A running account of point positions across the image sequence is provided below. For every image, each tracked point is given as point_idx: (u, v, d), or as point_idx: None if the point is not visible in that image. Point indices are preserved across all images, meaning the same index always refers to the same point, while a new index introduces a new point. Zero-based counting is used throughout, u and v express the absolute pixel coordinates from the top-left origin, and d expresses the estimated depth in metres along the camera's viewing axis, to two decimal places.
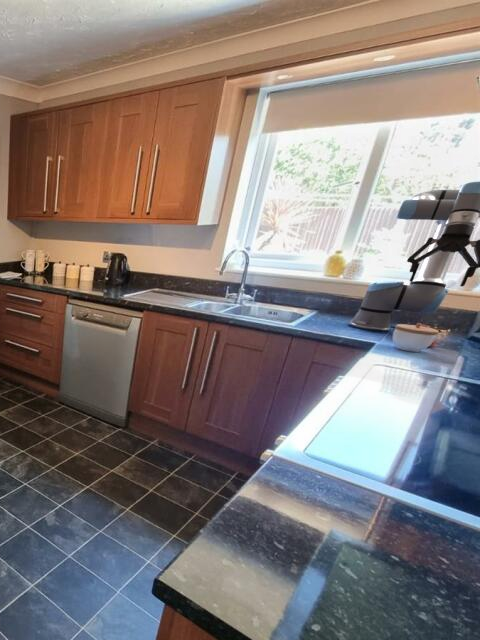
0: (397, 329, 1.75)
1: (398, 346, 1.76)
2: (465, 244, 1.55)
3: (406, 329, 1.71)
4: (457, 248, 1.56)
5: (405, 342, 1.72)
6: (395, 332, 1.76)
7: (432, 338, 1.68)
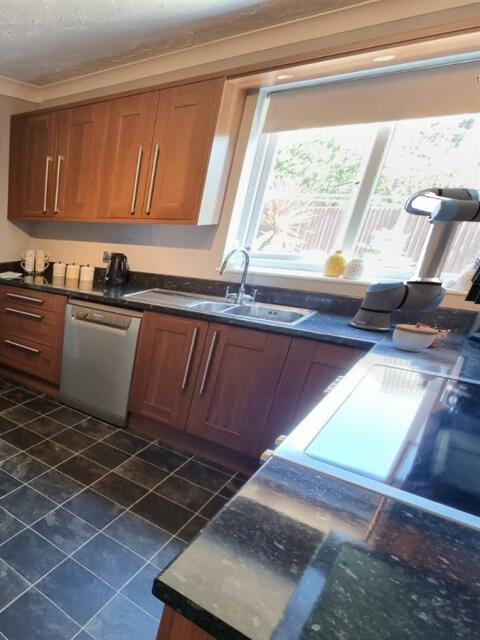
0: (397, 329, 1.75)
1: (398, 346, 1.76)
2: None
3: (406, 329, 1.71)
4: None
5: (405, 342, 1.72)
6: (395, 332, 1.76)
7: (432, 338, 1.68)
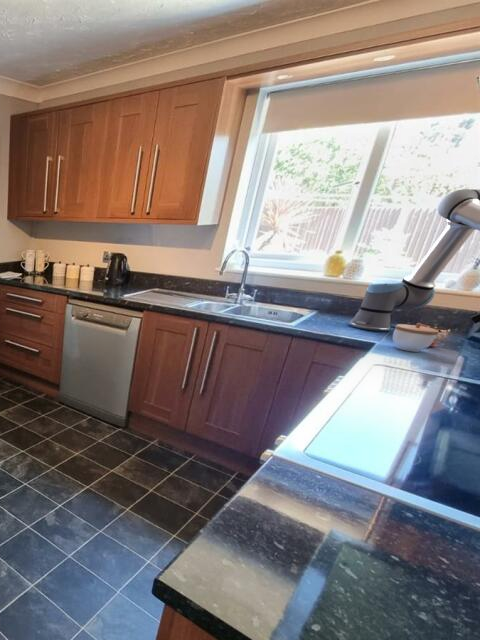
0: (397, 329, 1.75)
1: (398, 346, 1.76)
2: None
3: (406, 329, 1.71)
4: None
5: (405, 342, 1.72)
6: (395, 332, 1.76)
7: (432, 338, 1.68)
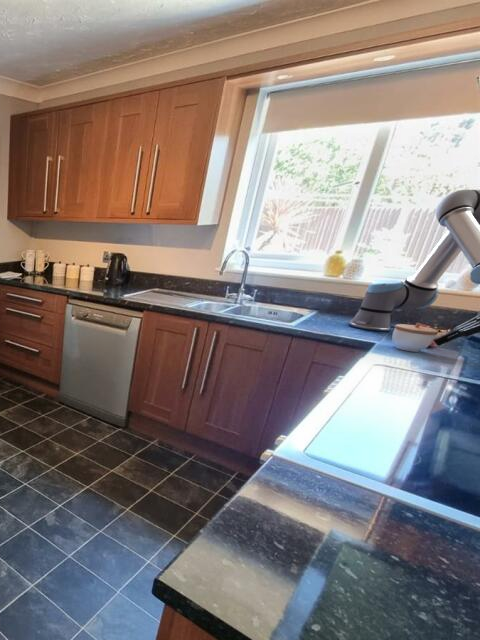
0: (396, 329, 1.75)
1: (397, 346, 1.76)
2: None
3: (405, 329, 1.71)
4: None
5: (404, 341, 1.72)
6: (394, 332, 1.76)
7: (431, 338, 1.68)
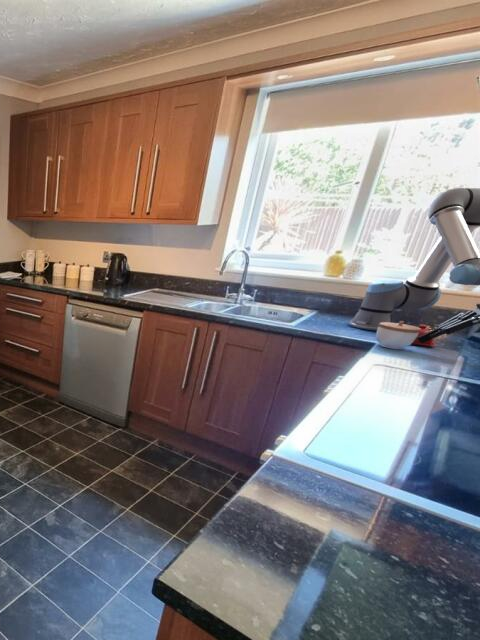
0: (380, 327, 1.77)
1: (381, 344, 1.78)
2: None
3: (388, 327, 1.74)
4: None
5: (386, 339, 1.75)
6: (378, 330, 1.78)
7: (413, 336, 1.70)
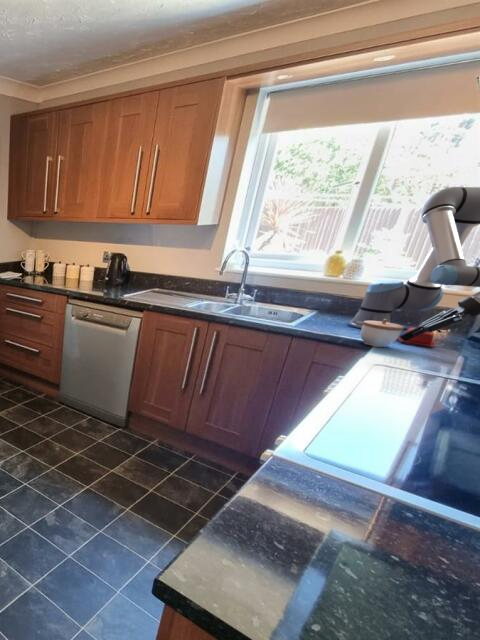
0: (364, 325, 1.80)
1: (365, 341, 1.81)
2: None
3: (371, 325, 1.76)
4: None
5: (370, 337, 1.77)
6: (362, 328, 1.81)
7: (396, 334, 1.73)
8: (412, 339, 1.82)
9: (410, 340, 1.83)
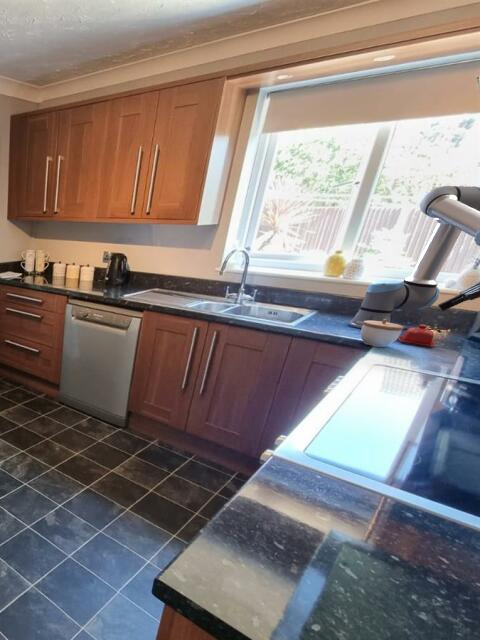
0: (364, 325, 1.80)
1: (365, 341, 1.81)
2: None
3: (371, 325, 1.76)
4: None
5: (370, 337, 1.77)
6: (362, 328, 1.81)
7: (396, 334, 1.73)
8: (412, 339, 1.82)
9: (410, 340, 1.83)
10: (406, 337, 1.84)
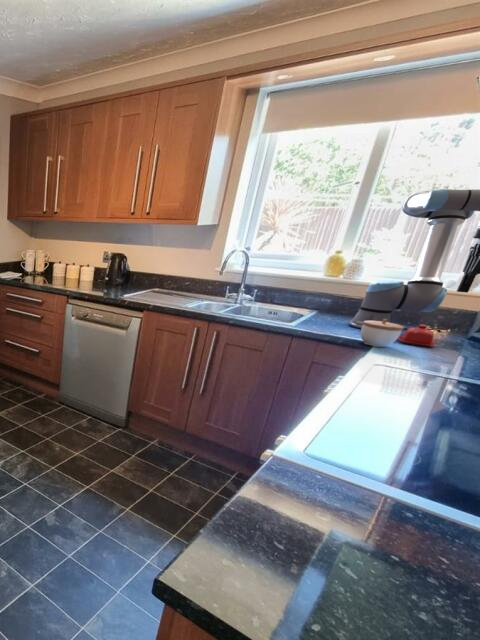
0: (364, 325, 1.80)
1: (365, 341, 1.81)
2: None
3: (371, 325, 1.76)
4: None
5: (370, 337, 1.77)
6: (362, 328, 1.81)
7: (396, 334, 1.73)
8: (412, 339, 1.82)
9: (410, 340, 1.83)
10: (406, 337, 1.84)
